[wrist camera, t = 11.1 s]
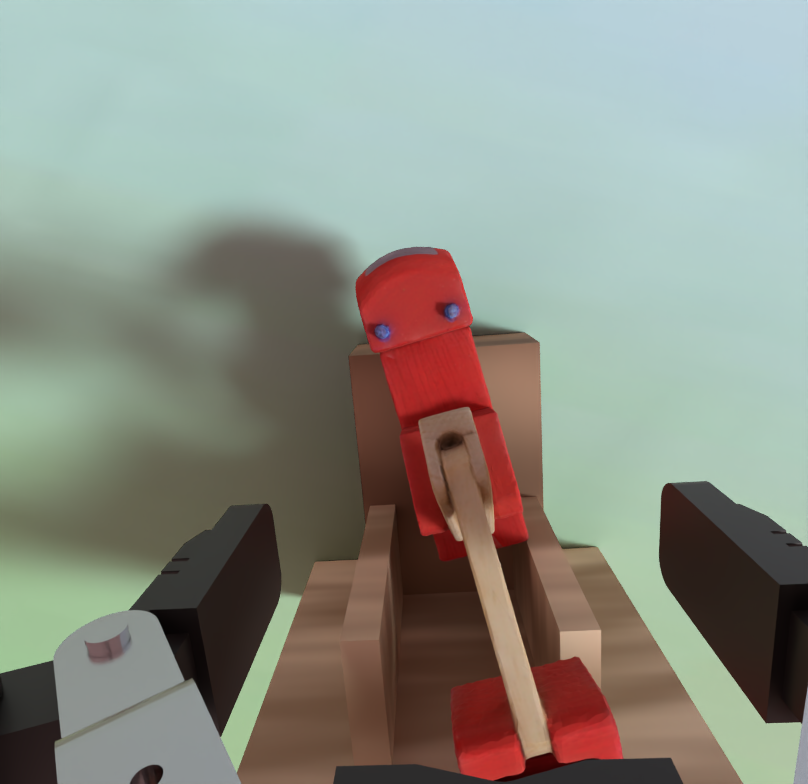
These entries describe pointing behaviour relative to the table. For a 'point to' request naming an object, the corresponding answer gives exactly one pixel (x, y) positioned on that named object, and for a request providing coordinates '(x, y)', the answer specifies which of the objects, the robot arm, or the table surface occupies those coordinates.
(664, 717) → the board
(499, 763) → the toy fire truck
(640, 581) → the table surface
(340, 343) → the table surface
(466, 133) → the table surface
